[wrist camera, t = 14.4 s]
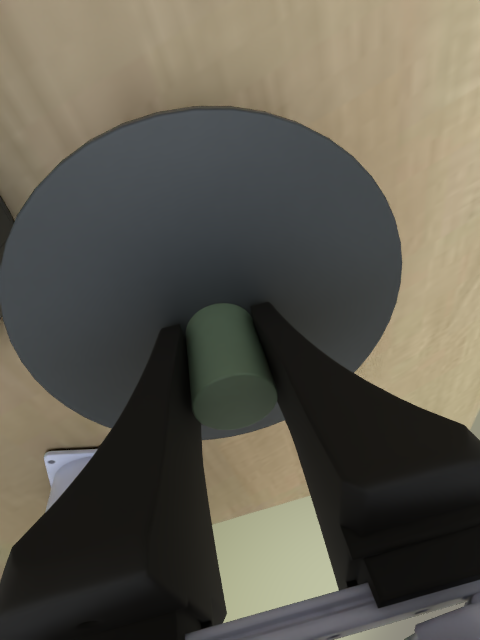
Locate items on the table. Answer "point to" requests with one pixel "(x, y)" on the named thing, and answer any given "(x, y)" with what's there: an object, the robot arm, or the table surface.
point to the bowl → (4, 230)
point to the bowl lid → (197, 260)
